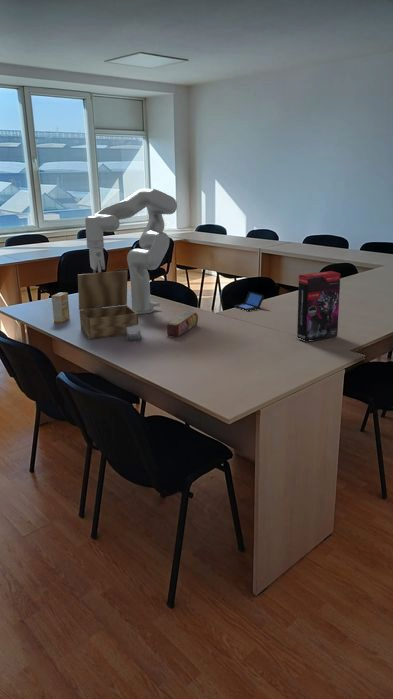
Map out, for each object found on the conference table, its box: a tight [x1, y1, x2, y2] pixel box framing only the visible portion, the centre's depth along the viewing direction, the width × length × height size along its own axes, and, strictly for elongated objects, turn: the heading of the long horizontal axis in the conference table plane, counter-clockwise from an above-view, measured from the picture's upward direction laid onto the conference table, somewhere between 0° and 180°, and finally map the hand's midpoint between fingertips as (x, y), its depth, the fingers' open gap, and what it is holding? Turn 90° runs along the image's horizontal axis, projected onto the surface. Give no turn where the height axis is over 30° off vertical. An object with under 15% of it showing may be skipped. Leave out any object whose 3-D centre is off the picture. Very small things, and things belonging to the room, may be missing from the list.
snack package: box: [166, 310, 199, 338], centre depth 232 cm, size 21×7×7 cm, turn 157°
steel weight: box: [125, 323, 142, 343], centre depth 220 cm, size 6×6×6 cm
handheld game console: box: [233, 291, 265, 312], centre depth 270 cm, size 12×11×7 cm
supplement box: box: [51, 292, 71, 323], centre depth 250 cm, size 8×5×13 cm, turn 168°
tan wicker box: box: [78, 304, 140, 340], centre depth 232 cm, size 22×17×9 cm
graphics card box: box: [296, 270, 341, 341], centre depth 215 cm, size 17×7×27 cm, turn 117°
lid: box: [77, 269, 129, 311], centre depth 234 cm, size 22×17×1 cm
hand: (98, 284), depth 241 cm, fingers closed
